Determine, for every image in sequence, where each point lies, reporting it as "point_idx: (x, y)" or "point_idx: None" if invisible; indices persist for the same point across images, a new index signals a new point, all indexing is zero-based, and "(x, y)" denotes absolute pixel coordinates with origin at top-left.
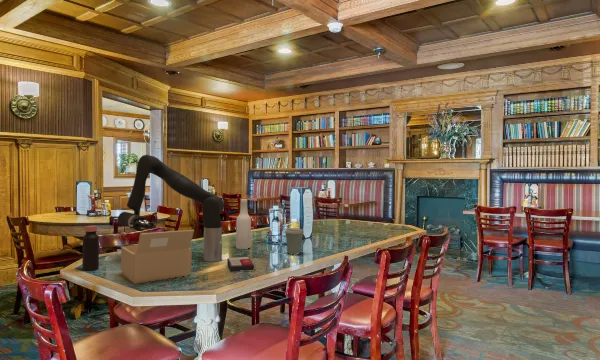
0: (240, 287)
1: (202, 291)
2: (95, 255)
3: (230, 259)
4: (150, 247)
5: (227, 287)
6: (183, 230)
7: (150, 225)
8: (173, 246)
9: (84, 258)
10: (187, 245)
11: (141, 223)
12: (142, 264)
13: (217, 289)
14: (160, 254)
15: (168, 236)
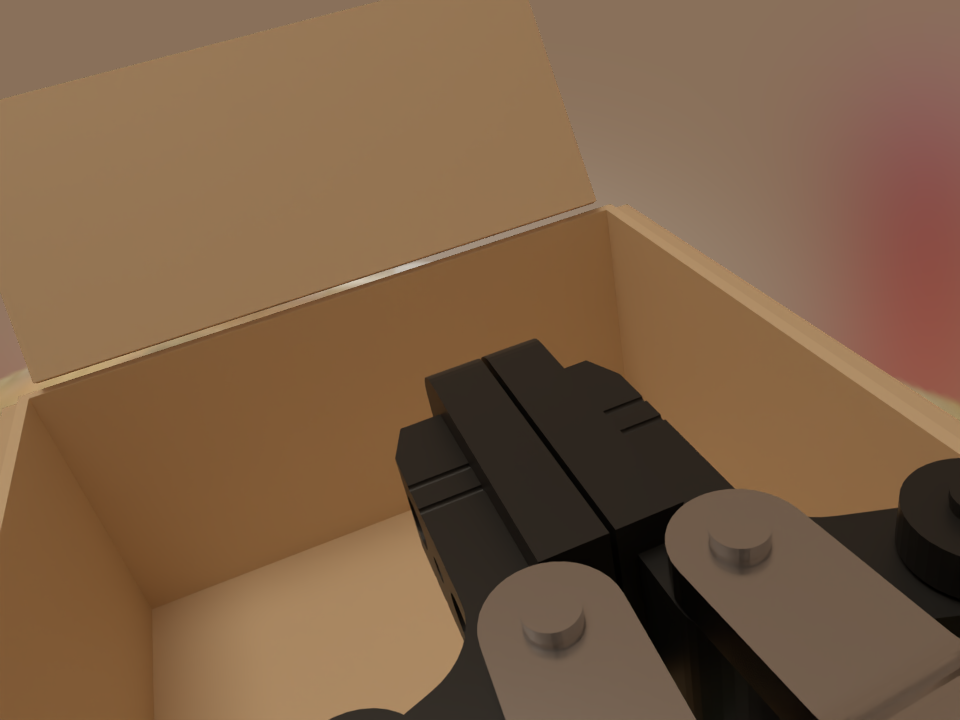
0: (11, 375)
1: (224, 328)
2: None
3: None
4: (457, 178)
5: (71, 375)
6: (70, 81)
7: (416, 437)
8: (222, 270)
9: None
10: (56, 327)
11: (954, 654)
12: (556, 318)
13: (138, 351)
14: (378, 306)
15: (255, 100)
